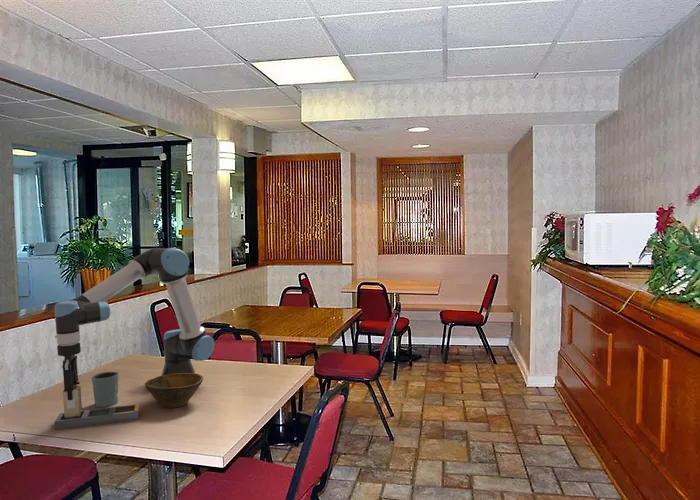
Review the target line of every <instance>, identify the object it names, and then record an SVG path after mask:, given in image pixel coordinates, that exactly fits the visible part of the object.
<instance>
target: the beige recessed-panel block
mask: <svg viewBox="0 0 700 500" xmlns="http://www.w3.org/2000/svg"><path fill="white" fill-rule="evenodd" d="M81 388H82V387H81V386H80V385H77V386H74V390H75V405H76V407H75V408H70V409H67V401H66V392H63V391H62V402H63V413H64V416H65V419H66V418H74V417H80V415H81V413H82V411H83V406H82V405H83V404H82V389H81Z"/></svg>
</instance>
